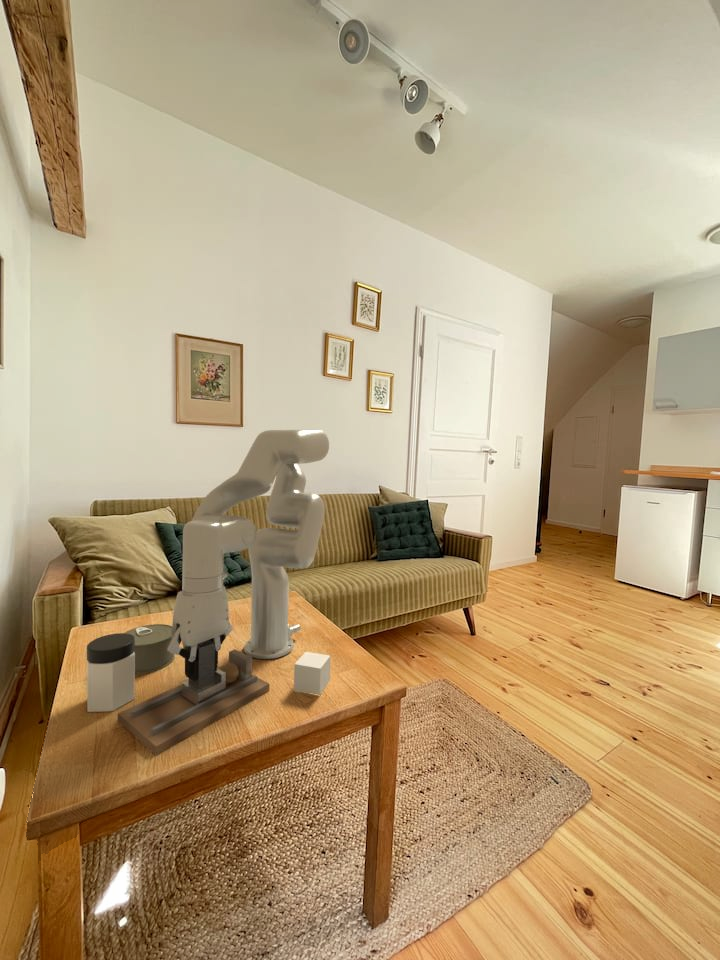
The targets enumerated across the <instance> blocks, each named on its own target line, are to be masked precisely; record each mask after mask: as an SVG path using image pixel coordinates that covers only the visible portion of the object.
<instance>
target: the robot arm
mask: <svg viewBox="0 0 720 960" xmlns="http://www.w3.org/2000/svg"><path fill="white" fill-rule="evenodd" d="M329 449H330V441H329V437H328V435H327V434H326V433H325V432H324V431H323V430H321V429H270V430H264V431H262V432H260V433H259V434H257V436H256V438H255V439H254V441H253V443H252V445H251V447H250V448H249V450H248V452H247V454H246V456H245V458H244V460H243V461H242V463H241V466H240V467H239V469H238V471H237V472H236V473H235V474H234V475H232V476H231V477H229V478H228V479H226V480H224V481H223V482H222V483H220V484H219V485H218V486H216V487H215V488H213V489H212V490H211V491H210V492H208V494H207V495H206V496H205V497H204V498H203V500H202V501H201V503H200V504H199V506H198V508H197V509H196V511H195V513H194V515H193V517H192V519H191V520H190V521H188V522H186V523H185V524H184V525H183V528H182V571H181V572H182V581H181V582H182V583H181V586H182V587H181V589H182V590H180V591H178V592H177V595H176V599H175V602H174V607H173V614H172V623H171V624H172V625H171V626H172V641H171V643H170V645H169V647H168V649H167V651H168V652H170V653H172V654H174V655H176V656H180V657H182V658H183V659H184V675H185V676H186V677H187V678H188V679H189V678H190V679H191V680H193V681H196V680H197V679H198V660H196V659H195V657H196V650H197V644H199V643H202V642H205V641H207V640H211V641H213V642H215V671H217V668H218V664H219V651H221V649H222V644H223V643H224V642H225V640H226V637H228V636H229V634H231V632H233V630H234V628H233V626H232V623H230V615H229V614H230V610H229V609H230V608H229V599H228V592H227V589H226V586H225V585H224V580H226V579H227V578H228V572H226V571H224V556H225V554H228V553H238V552H239V553H241V552H244V551H246V550H248V555H249V561H250V562H249V563H250V570H251V595H250V596H251V600H250V601H251V604H250V606H251V607H250V608H251V609H250V639H248V640H247V641H246V642H245V644H244V649H243V650H244V651H243V652H244V654H246V655H248V656H250V657H252V659H253V658H254V659H261V660H270V659H271V660H272V659H277V658H281V657H283V656H286V655H287V654H289V653H290V652H291V651H292V650H293V649H294V640H293V639H292V638H291V636H293V634H295V633H297V632H300V630H301V625H300V624H298V623H296V624H295V625H292V626H291V625H290V624H289V594H290V592H289V590H290V580H289V576H288V573H287V571H286V569H285V568H289V569H300V570H301V569H306V568H308V567H310V566H311V565H312V563H313V562H314V559H315V556H316V554H317V553H316V552H317V549H318V545H319V541H320V536H321V533H322V529H323V524H324V520H325V513H326V512H325V511H326V510H325V508H326V507H325V503H324V500H323V498H322V497H321V496H320V495H318V494H316V493H311V492H305V489H306V483H307V478H306V475H305V472H304V471H303V469H302V468H301V466H300V465H301V464H311V463H315V462H319V461H322V460H323V459H325V458H326V457H327V454H328V453H329ZM273 483H274V485H273ZM272 485H273V487H272ZM271 488H272V490H271ZM270 490H271V493H270V496H269V499H268V502H267V507H266V509H265V511H266V512H265V518H266V520H267V521H268V523H270V524H271V525H273V526H277V528H276V527H263V528H260V529H257V527H256V525H255V523H254V522H253V520H251V519H249V518H248V517H245V516H239V515H237V516H236V515H229V514H227V515H226V513H227V512H228V511H229V510H230V509H231V508H233V507H235V506H237V505H238V504H240V503H243V502H246V501H248V500H252V499H254V498H258V497H259V496H262V495H264V494H266V493H268V492H269V491H270ZM278 527H285V528H278ZM286 527H287V528H296V529H287V528H286ZM297 529H298V530H297ZM181 643H182V644H181ZM180 645H182V647H181V646H180Z"/></svg>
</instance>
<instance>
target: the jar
mask: <svg viewBox="0 0 720 960" xmlns="http://www.w3.org/2000/svg"><path fill="white" fill-rule="evenodd" d="M134 650H135V638H134V636H133V635H131V634H126V633H125V632H123V633H122V632H120V633H118V632H117V633H112V634H106V635H102V636H99V637H96V638H95V639H93V640H91V641H90V642H89V643H88V644H87V645H86V705H87V706H86V707H87V708H86V709H87V713H100V712H102V713H103V712H105V713H106V712H114V711H115V710H117V709H119V708H121V707H122V706H124V705H126V704H128V703H129V702H131V701H133V700H135V697H136V696H135V688H136V687H135V683H136V680H135V677H136V675H135V653H134Z"/></svg>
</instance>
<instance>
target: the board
mask: <svg viewBox="0 0 720 960" xmlns="http://www.w3.org/2000/svg"><path fill="white" fill-rule="evenodd" d="M217 668H218V669H220V670H221V671H223V672H225V673H226V690H225V691H223V692H221V693H219V694H217V695H215V696H213V697H211V698H209V699H207V700H206V701H204V702H202V703H200V704H198V705H195V704H194V703H192V702H191V701H190V700H188V699H187V698H185V697H184V696H182V695H181V684H180V685H177V686H175V687H173V688H171V689H167V691H164V692H162V693H159V694H158V695H155V696H153V697H150V698H148V699H146V700H144V701H141V702H140V703H137V704H135V705H133V706H131V707H128V708H126V709H124V710H122V711H119V712H117V722H118V723H119V724H121V726H122V727H123V728H125V729H126V730H127V732H129V734H131V735H132V736H134V738H136V739H137V740H138V741H139V742H140V743H141V744H143V745H144V746H145V748H146V749H148V750H149V751H150V752H151V753H153V754H154V756H157V755H159V754H160V753H162V752H164V751H166V750H167V749H168V750H169V748H171V747H173V746H175V745H176V744H178V743H180V742H183V740H186V739H187V738H189V737H190V736H192V735H195V734H196V733H197V732H200V731H201V730H204V728H206V727H208V726H210V725H211V724H213V723H215V722H217V721H218V720H221V719H222V718H223V717H225V716H227V715H229V714H231V713H232V712H235V711H236V710H237V709H240V708H242V707H243V706H245V705H247V704H248V703H250V702H251V701H254V700H255V699H257V698H258V697H261V696H262V695H264V694H266V693H267V692H269V691H270V683H269V682H268V681H265V680H263V679H261V678H260V677H258V676H257V675H253V673H252V672H253V669H252V668H253V657H251V656H249V655H247V654H246V653H245V652H244V653H243V652H241V651H239V650H237V649H232V650H230V651H229V652H228V662H227V663H225V664H223V665H222V666H219V667H217Z"/></svg>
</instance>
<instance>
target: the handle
mask: <svg viewBox="0 0 720 960" xmlns="http://www.w3.org/2000/svg"><path fill="white" fill-rule="evenodd" d="M195 659H196V660H198V679H197V680H196V681H193V680H191V679H190V678H188V679H187V680H184V681H182V682H181V684H180V685H181V695H182V696H184V697H185V698H187V699H188V700H190V701H191V702H192V703H194V704H195V705H198V704H200V703H202V702H204V701H206V700H207V699H209V698H211V697H213V696H215V695H217V694H219V693H221V692H223V691H225V690H226V673H225V672H223V671H221V670H220V669H218V668H219V667H217V671H215V642H213V641H211V640H207V641H205V642H202V643H199V644H197V650H196V657H195Z"/></svg>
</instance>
